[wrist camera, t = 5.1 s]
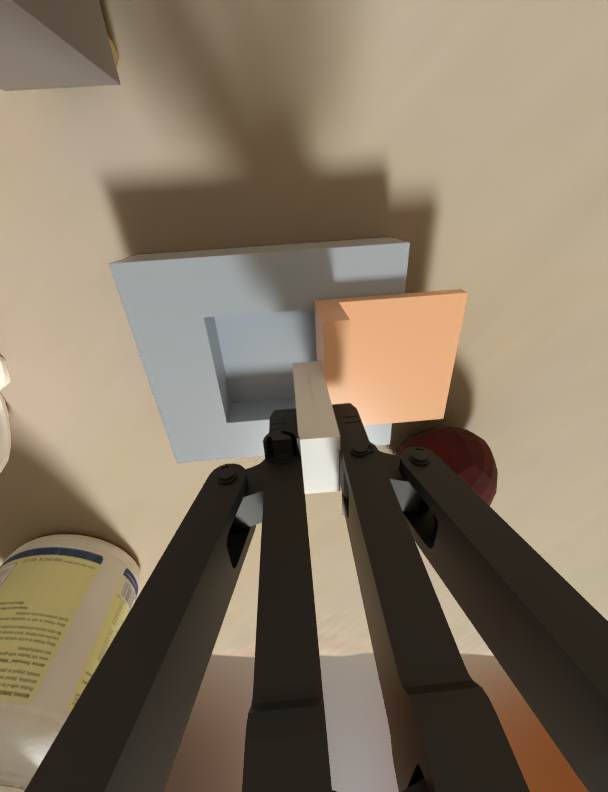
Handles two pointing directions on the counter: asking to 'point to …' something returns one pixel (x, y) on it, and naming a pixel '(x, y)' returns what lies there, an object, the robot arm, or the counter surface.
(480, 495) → the dark brown ball
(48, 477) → the counter surface
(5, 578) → the supplement tub
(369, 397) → the orange l-shaped bracket
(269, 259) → the socket block
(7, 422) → the cup
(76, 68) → the plug
